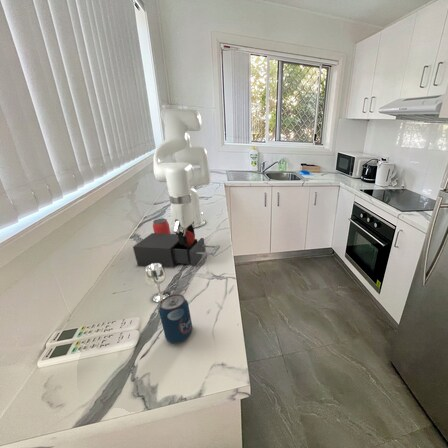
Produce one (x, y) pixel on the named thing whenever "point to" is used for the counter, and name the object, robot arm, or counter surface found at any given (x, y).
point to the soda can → (175, 318)
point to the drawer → (191, 252)
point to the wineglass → (156, 279)
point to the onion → (189, 237)
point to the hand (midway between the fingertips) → (187, 240)
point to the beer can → (161, 226)
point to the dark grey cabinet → (156, 250)
